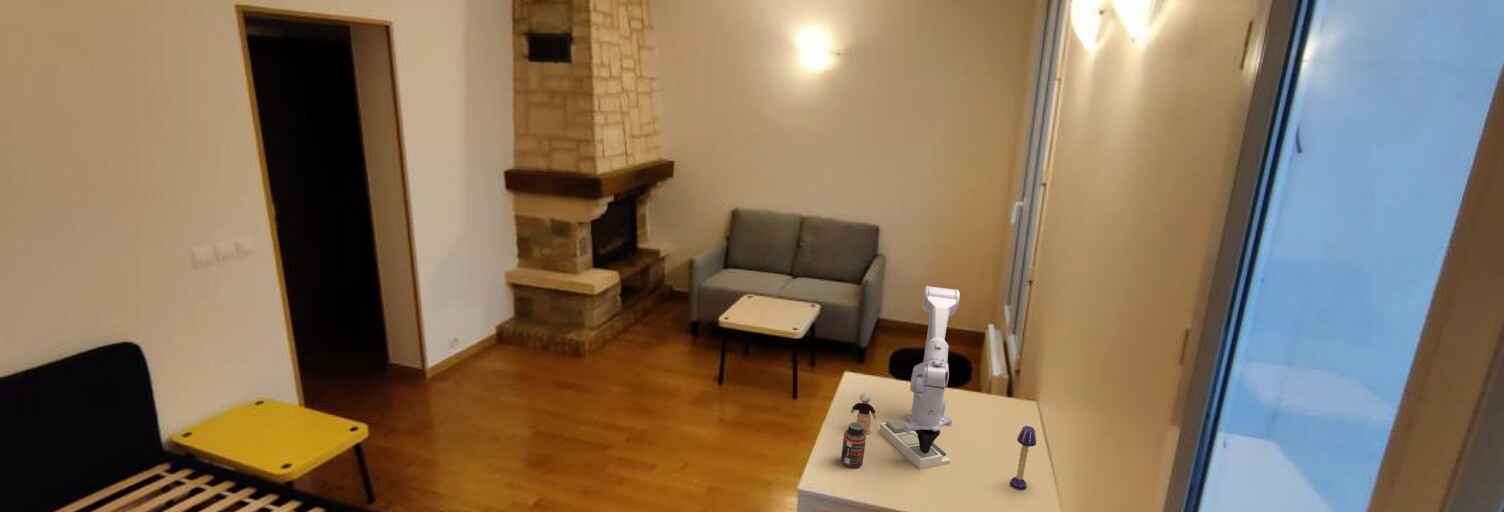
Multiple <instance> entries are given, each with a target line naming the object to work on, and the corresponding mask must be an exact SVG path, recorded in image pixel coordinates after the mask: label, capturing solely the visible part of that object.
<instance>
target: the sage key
mask: <svg viewBox="0 0 1504 512" xmlns="http://www.w3.org/2000/svg"><path fill="white" fill-rule="evenodd" d="M898 437H899V438H900V439H901V440H902V441H903V442H904V443H906V444H907V445H908V446H909V445H914V444H919V439H918V438H917V437H916V436H915V435H913V434H909V435H903V436H898Z"/></svg>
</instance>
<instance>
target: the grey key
mask: <svg viewBox="0 0 1504 512" xmlns="http://www.w3.org/2000/svg"><path fill="white" fill-rule="evenodd" d="M904 423H906V422H905V421H904V420H902V419H901V418H899V419H898V418H897V419H892V420H890V419H889V420H886V426H887V427H888V428H890V429H891V430H892V431H893V432H894V433H895V434H896V433H901V432H905V431H904V430H903V428H904Z"/></svg>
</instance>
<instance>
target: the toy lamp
mask: <svg viewBox="0 0 1504 512" xmlns="http://www.w3.org/2000/svg"><path fill="white" fill-rule="evenodd" d="M1016 441H1017V442H1018V444H1020V445H1021V446H1022V447H1021V449H1020V453H1019V459H1018V464H1017V470H1016V471H1017V472H1016V473H1017V474H1016V476H1015V477H1012V478H1011V479H1010V481H1009V485H1010V486H1011V487H1012V488H1013V489H1017V490H1026V489H1027V481H1025V480H1026V479H1025V480H1024V474H1025V469H1026V463H1027V458H1028V453H1029V447H1034V446H1036V445H1037V435H1036V429H1035V427H1032V426H1029V425H1024V426H1022V428H1021V430H1020V432H1019V434H1018V436H1017V439H1016Z"/></svg>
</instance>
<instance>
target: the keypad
mask: <svg viewBox="0 0 1504 512" xmlns="http://www.w3.org/2000/svg"><path fill="white" fill-rule="evenodd" d="M886 422H887V421H886ZM886 422H882V423H880V424H879V433H880V434H881V435H882V436H883V437H884V438H885V439H886V440H888V441H889V442H890V443H891V444H892V446H894V447H895V448H896V449H897V450H898V451H900V453H901V454H903V455H904V456H905V457H906V458H907V459H908V460H909V461H910V462H911V463H912V464H913V465H914V466H916V468H918V469H919V470H922V469H927V468H932V467H936V466H937V467H938V466H943V465H947V464H950V463H951V459H950V458H948V456H946V455H947V453H946V452H945V451H943V449H941V448H940V447H939V446H937V444H936V443H935V442H933V444H932V445H931V448H930V449H931V450H932V451H933V452H934V453H935V454H936V455H935V456H929V457H924V458H921V457H920V456H919V455H918V454H917V453H916V452H914V451H913V450H912V448H914V447H920V445H919V444H914V445H909V446H908V445H907V444H906V443H904V442H903V441H902V440H901V439H900V438H899V437H898V436H903V435H909V434H913V435H915V436H916V437H917V438H918V436H917V433H916V431H910V433H906V432H901V433H896V434H895V433H894V432H893V431H892V430H891V429H890V428H888V427H887V426H886Z"/></svg>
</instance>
